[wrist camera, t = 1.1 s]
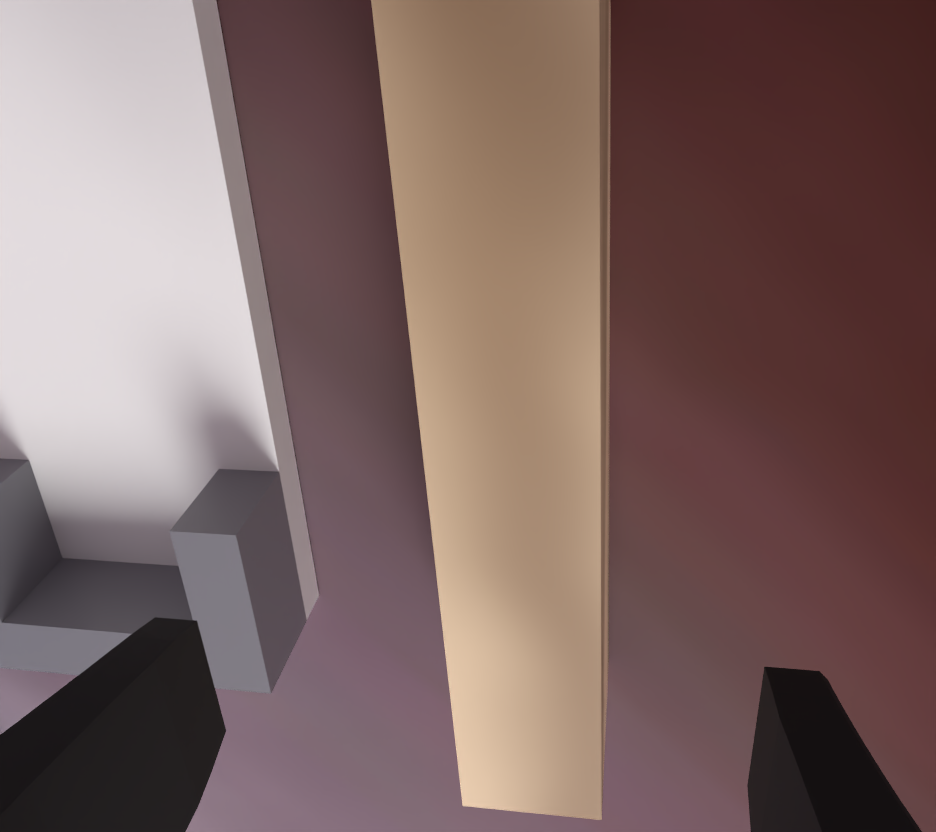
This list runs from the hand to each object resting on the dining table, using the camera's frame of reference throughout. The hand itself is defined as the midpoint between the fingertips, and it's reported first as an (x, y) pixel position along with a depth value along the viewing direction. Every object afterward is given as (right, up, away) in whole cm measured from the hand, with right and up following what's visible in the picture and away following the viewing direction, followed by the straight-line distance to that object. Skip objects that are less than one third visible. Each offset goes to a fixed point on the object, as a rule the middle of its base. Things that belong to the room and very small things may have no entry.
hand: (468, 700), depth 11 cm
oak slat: (+2, +4, +8) cm, 10 cm away
